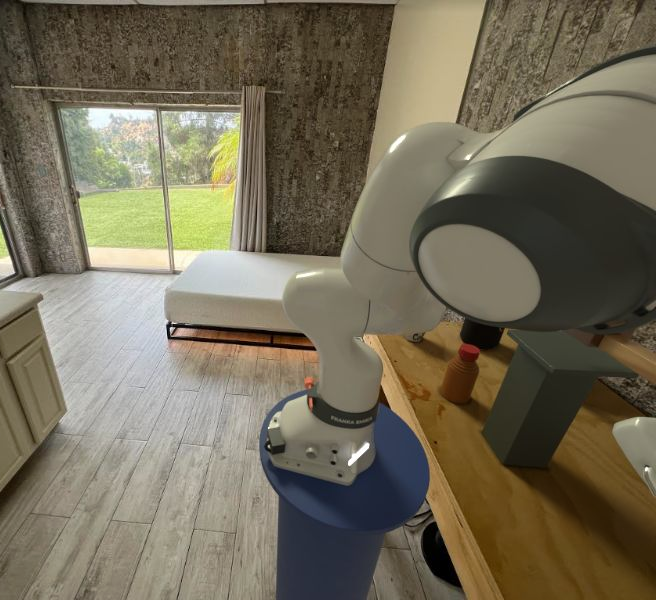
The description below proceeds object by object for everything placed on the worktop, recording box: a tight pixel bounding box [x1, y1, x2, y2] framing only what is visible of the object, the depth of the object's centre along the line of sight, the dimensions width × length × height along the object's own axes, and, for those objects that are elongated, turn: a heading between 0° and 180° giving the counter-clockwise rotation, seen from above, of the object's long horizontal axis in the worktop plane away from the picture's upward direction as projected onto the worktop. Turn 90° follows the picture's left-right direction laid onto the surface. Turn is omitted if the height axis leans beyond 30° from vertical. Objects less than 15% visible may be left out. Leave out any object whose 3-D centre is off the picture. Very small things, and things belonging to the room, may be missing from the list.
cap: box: [457, 343, 481, 362], centre depth 75 cm, size 4×4×2 cm
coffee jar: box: [459, 318, 506, 351], centre depth 99 cm, size 11×11×18 cm
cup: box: [403, 332, 427, 343], centre depth 103 cm, size 8×8×10 cm
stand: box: [481, 329, 640, 469], centre depth 60 cm, size 12×12×26 cm
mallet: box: [563, 320, 656, 386], centre depth 42 cm, size 5×20×5 cm, turn 174°
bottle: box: [439, 355, 480, 405], centre depth 78 cm, size 6×6×14 cm
